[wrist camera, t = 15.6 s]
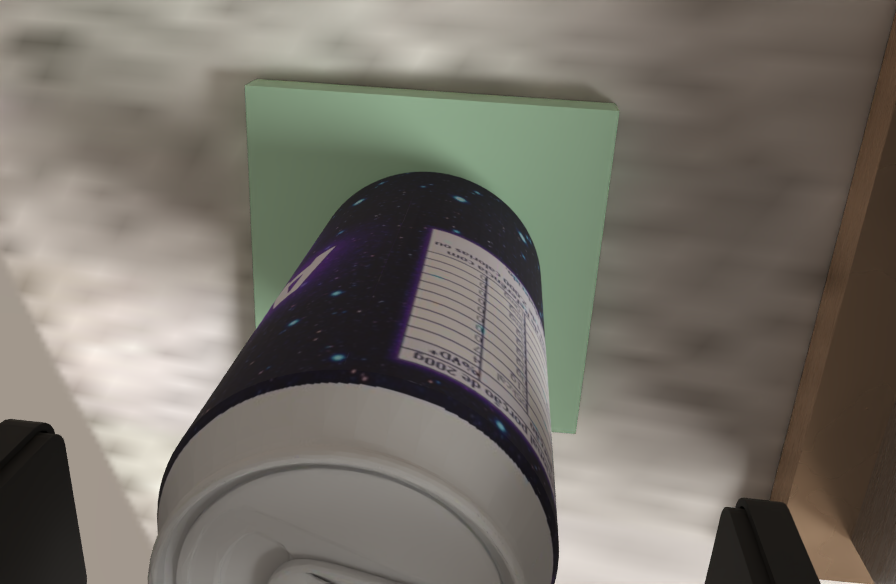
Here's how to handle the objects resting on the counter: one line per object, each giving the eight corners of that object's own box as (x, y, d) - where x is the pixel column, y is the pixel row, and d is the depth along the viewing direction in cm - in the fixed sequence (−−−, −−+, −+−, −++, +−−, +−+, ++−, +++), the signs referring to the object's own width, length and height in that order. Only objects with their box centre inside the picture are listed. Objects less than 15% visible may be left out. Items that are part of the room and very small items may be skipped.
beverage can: (352, 131, 20) (151, 363, 9) (572, 202, 20) (635, 512, 9) (301, 329, 22) (89, 707, 11) (499, 390, 23) (480, 818, 12)
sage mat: (256, 78, 21) (244, 85, 20) (615, 103, 20) (619, 111, 19) (269, 388, 24) (259, 405, 23) (573, 414, 24) (575, 433, 23)
